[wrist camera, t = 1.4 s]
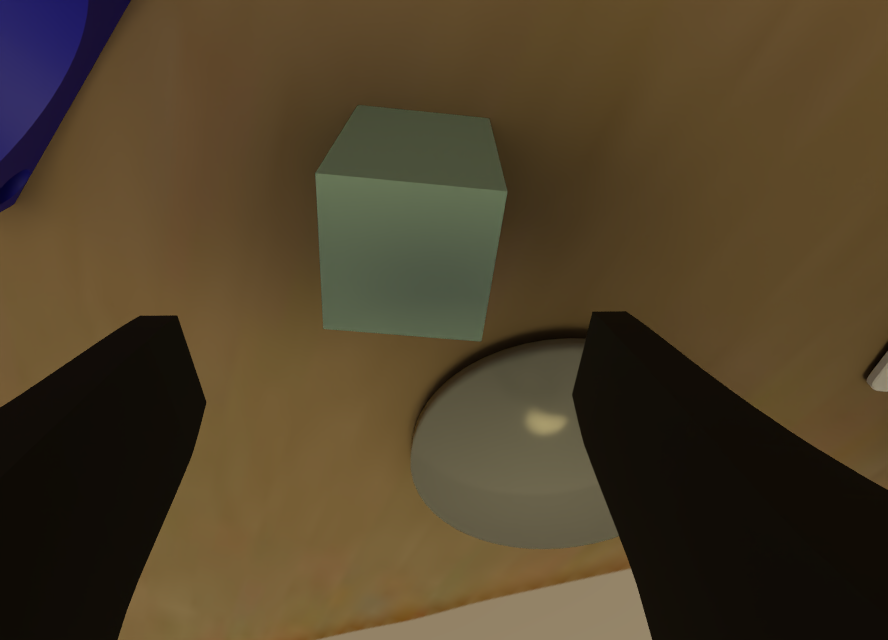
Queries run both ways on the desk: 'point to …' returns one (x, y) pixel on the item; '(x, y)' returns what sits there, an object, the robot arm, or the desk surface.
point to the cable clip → (43, 75)
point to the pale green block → (409, 223)
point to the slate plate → (512, 451)
